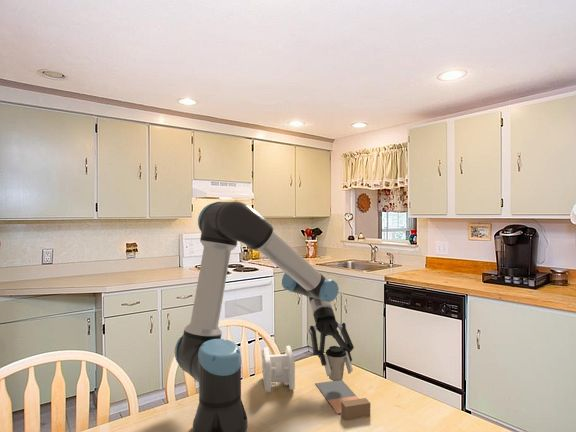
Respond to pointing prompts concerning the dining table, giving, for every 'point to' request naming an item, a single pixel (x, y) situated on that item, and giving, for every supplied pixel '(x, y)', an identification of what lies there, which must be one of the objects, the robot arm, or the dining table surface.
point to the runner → (344, 400)
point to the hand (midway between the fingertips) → (340, 373)
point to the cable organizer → (278, 368)
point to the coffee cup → (336, 362)
